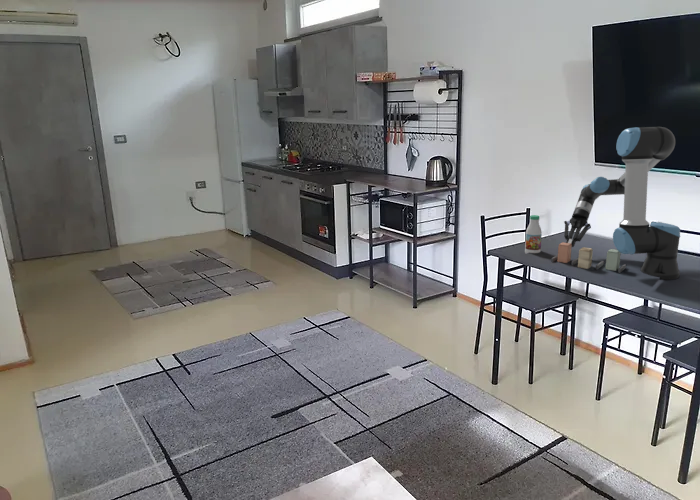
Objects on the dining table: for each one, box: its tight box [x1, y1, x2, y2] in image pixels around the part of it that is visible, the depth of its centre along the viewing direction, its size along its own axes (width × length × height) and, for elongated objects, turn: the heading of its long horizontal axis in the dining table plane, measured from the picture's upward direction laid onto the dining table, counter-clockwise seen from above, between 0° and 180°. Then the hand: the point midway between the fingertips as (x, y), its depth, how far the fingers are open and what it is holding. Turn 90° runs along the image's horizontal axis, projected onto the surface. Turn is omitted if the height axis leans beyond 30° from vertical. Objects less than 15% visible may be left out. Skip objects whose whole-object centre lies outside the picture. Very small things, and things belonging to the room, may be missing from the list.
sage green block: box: [605, 248, 622, 272], centre depth 247 cm, size 5×4×9 cm
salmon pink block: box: [556, 241, 573, 264], centre depth 261 cm, size 5×4×9 cm
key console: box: [550, 254, 627, 274], centre depth 255 cm, size 10×31×3 cm, turn 49°
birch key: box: [577, 247, 594, 270], centre depth 251 cm, size 5×4×9 cm
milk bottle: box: [524, 214, 542, 255], centre depth 278 cm, size 8×8×20 cm
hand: (567, 251), depth 264 cm, fingers closed
